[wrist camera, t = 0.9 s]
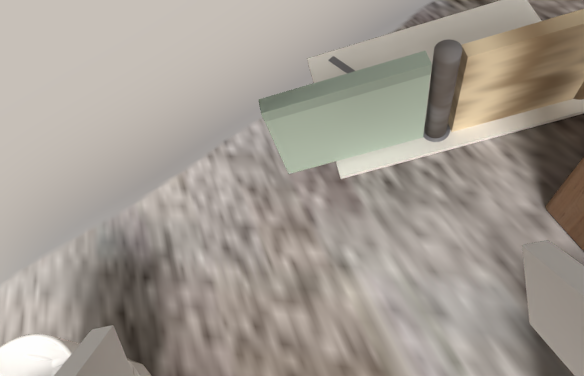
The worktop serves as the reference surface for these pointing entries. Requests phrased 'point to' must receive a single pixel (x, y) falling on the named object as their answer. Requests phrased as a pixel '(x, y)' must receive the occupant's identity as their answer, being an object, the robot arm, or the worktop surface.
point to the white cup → (43, 356)
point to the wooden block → (570, 205)
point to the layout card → (420, 38)
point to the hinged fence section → (350, 113)
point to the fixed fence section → (506, 74)
